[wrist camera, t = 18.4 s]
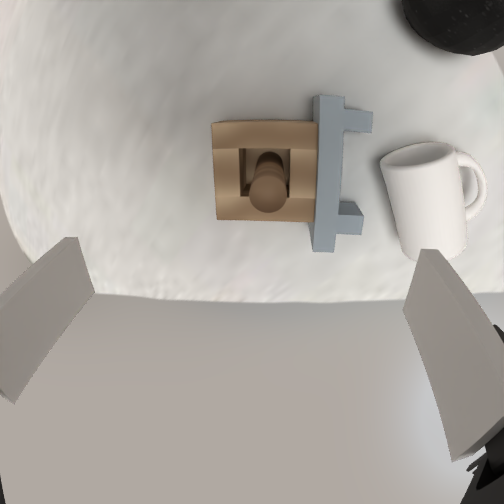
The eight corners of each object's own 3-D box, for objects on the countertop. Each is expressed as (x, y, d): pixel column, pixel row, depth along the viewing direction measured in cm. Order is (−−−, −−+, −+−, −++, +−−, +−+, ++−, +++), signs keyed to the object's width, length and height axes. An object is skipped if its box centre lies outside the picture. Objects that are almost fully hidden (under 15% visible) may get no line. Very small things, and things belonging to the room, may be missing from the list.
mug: (392, 238, 32) (416, 274, 25) (369, 157, 28) (395, 176, 21) (472, 207, 28) (507, 235, 21) (458, 129, 24) (499, 141, 17)
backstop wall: (313, 97, 25) (319, 94, 20) (361, 101, 25) (379, 101, 20) (308, 226, 32) (312, 251, 27) (352, 228, 31) (364, 253, 26)
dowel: (256, 151, 28) (248, 177, 19) (282, 151, 28) (286, 177, 19) (257, 176, 29) (249, 213, 21) (282, 176, 29) (286, 212, 20)
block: (222, 120, 27) (211, 123, 23) (312, 121, 26) (318, 123, 22) (226, 202, 32) (216, 219, 27) (309, 204, 31) (313, 222, 26)
